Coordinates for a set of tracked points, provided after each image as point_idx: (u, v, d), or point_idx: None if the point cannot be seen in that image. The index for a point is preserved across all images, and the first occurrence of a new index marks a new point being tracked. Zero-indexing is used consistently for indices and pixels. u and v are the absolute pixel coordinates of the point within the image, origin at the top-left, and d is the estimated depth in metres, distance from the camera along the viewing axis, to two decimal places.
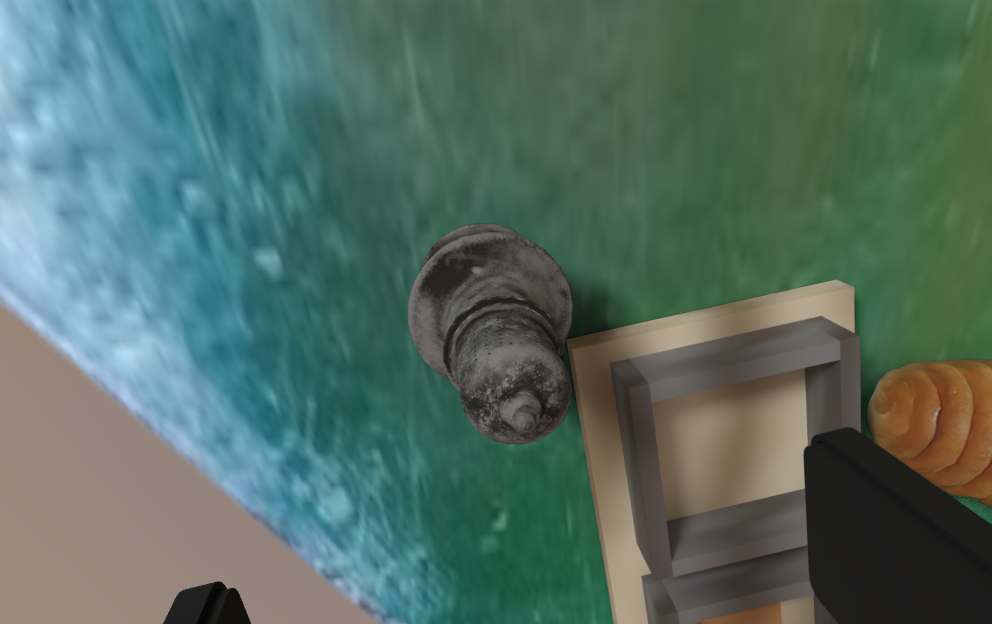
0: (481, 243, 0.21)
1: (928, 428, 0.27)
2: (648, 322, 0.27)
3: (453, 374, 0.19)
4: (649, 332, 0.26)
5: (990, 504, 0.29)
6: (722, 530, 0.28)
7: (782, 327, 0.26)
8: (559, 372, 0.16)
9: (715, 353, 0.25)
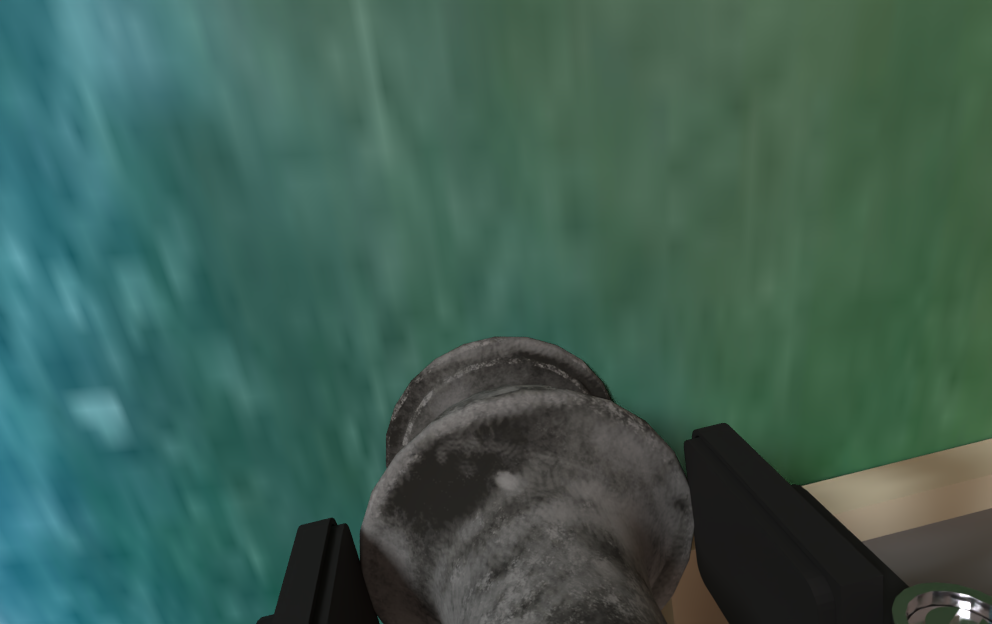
0: (516, 417, 0.10)
1: None
2: None
3: None
4: None
5: None
6: None
7: None
8: None
9: (931, 570, 0.14)
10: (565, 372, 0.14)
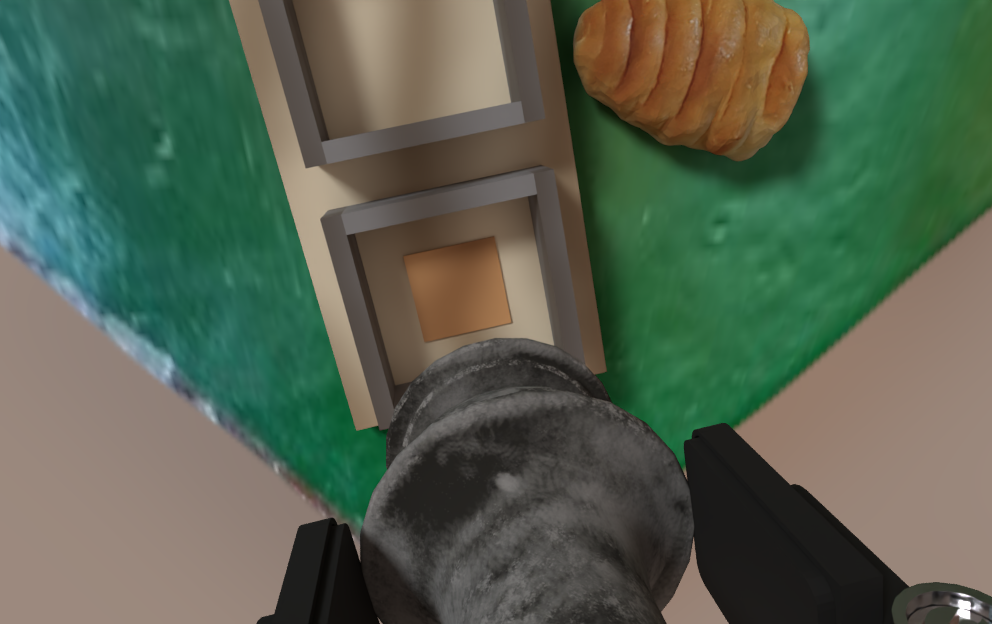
0: (516, 418, 0.10)
1: (622, 43, 0.25)
2: None
3: None
4: None
5: (714, 146, 0.26)
6: None
7: None
8: None
9: None
10: (565, 373, 0.14)
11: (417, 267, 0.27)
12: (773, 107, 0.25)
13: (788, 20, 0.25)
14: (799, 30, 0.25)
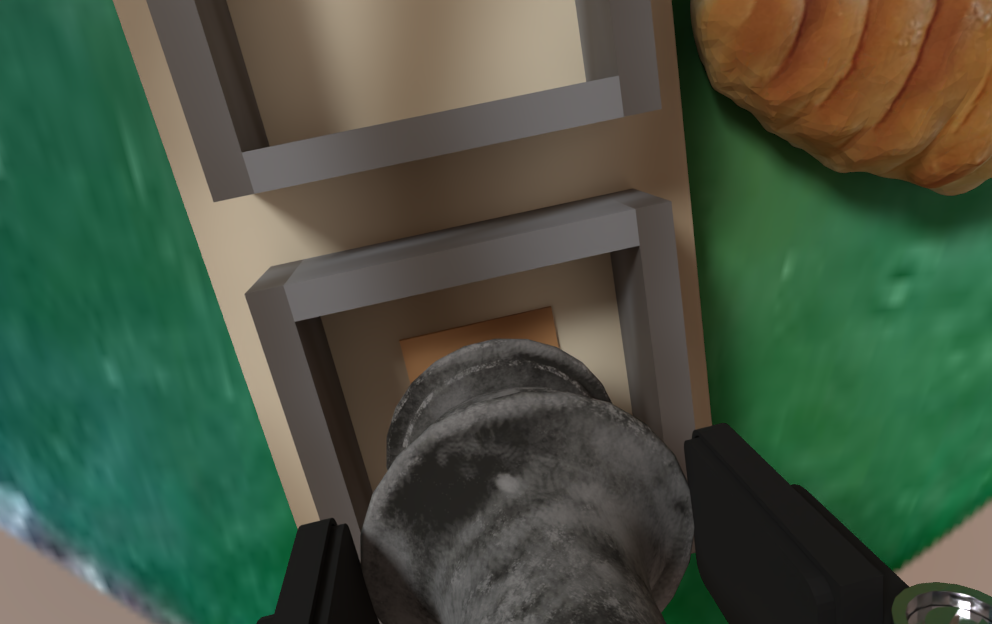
0: (516, 419, 0.10)
1: None
2: None
3: None
4: None
5: (931, 176, 0.15)
6: None
7: None
8: None
9: None
10: (565, 373, 0.14)
11: (423, 358, 0.16)
12: None
13: None
14: None
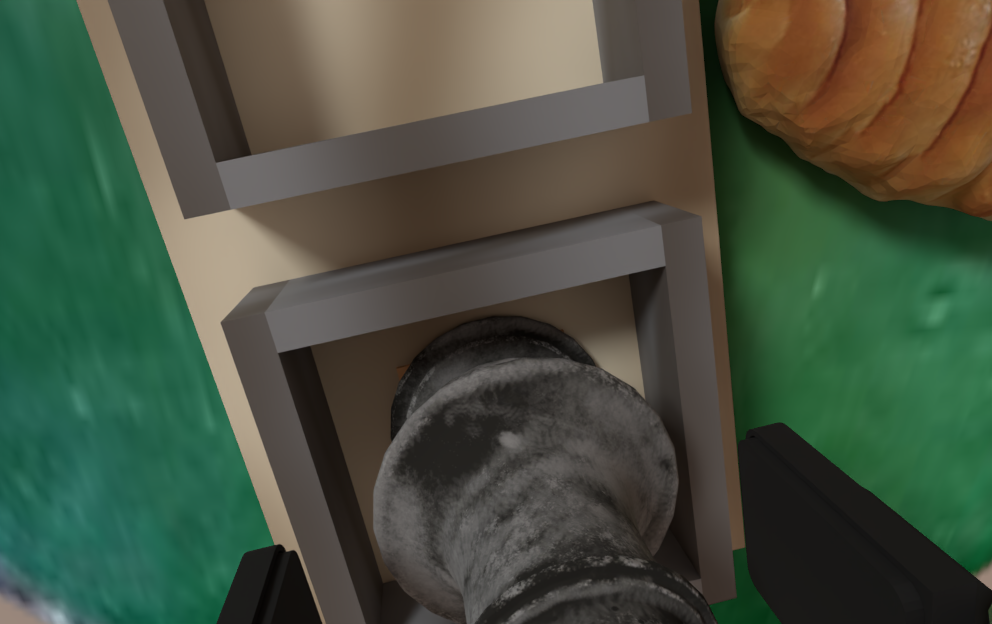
0: (517, 383, 0.11)
1: (830, 16, 0.13)
2: None
3: None
4: None
5: (983, 205, 0.14)
6: None
7: None
8: None
9: None
10: (558, 348, 0.15)
11: None
12: None
13: None
14: None
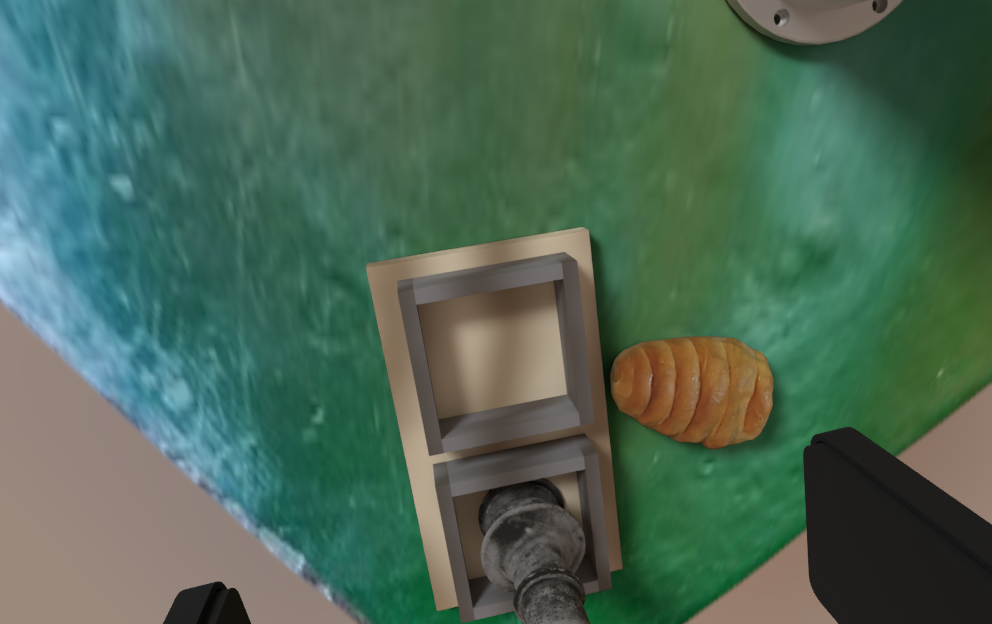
0: (531, 511, 0.34)
1: (645, 390, 0.36)
2: (432, 253, 0.34)
3: (519, 612, 0.31)
4: (427, 257, 0.33)
5: (709, 447, 0.38)
6: (489, 420, 0.35)
7: (532, 258, 0.34)
8: None
9: (473, 273, 0.33)
10: (545, 488, 0.38)
11: None
12: (749, 427, 0.37)
13: (758, 369, 0.37)
14: (766, 377, 0.36)
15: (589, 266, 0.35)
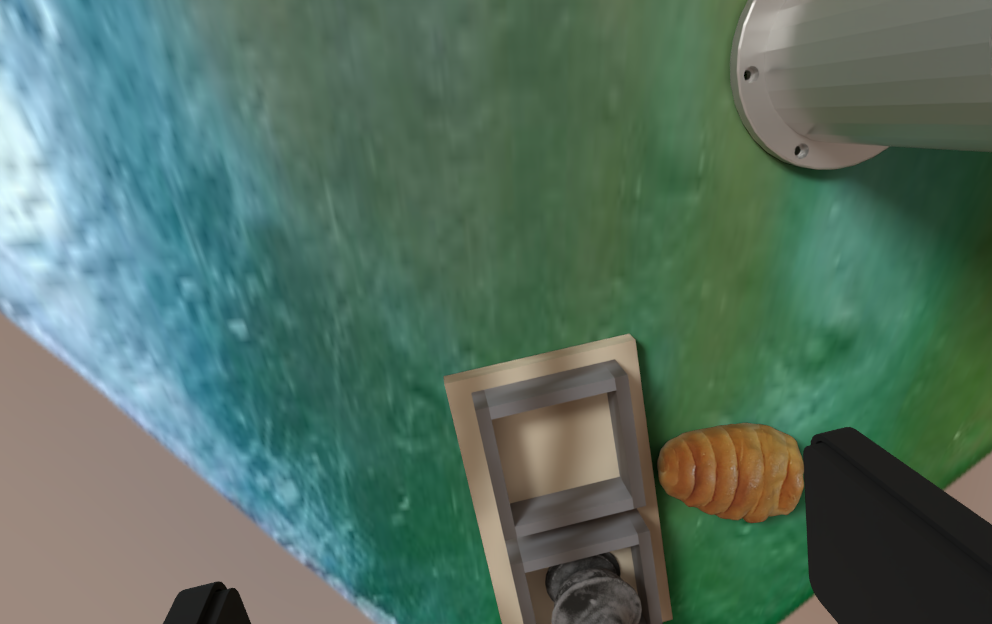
0: (594, 584, 0.39)
1: (690, 479, 0.41)
2: (499, 364, 0.39)
3: None
4: (496, 372, 0.38)
5: (748, 521, 0.43)
6: (553, 506, 0.40)
7: (587, 367, 0.39)
8: None
9: (537, 386, 0.38)
10: (603, 556, 0.43)
11: None
12: (784, 505, 0.42)
13: (790, 454, 0.41)
14: (797, 462, 0.41)
15: (636, 369, 0.40)
